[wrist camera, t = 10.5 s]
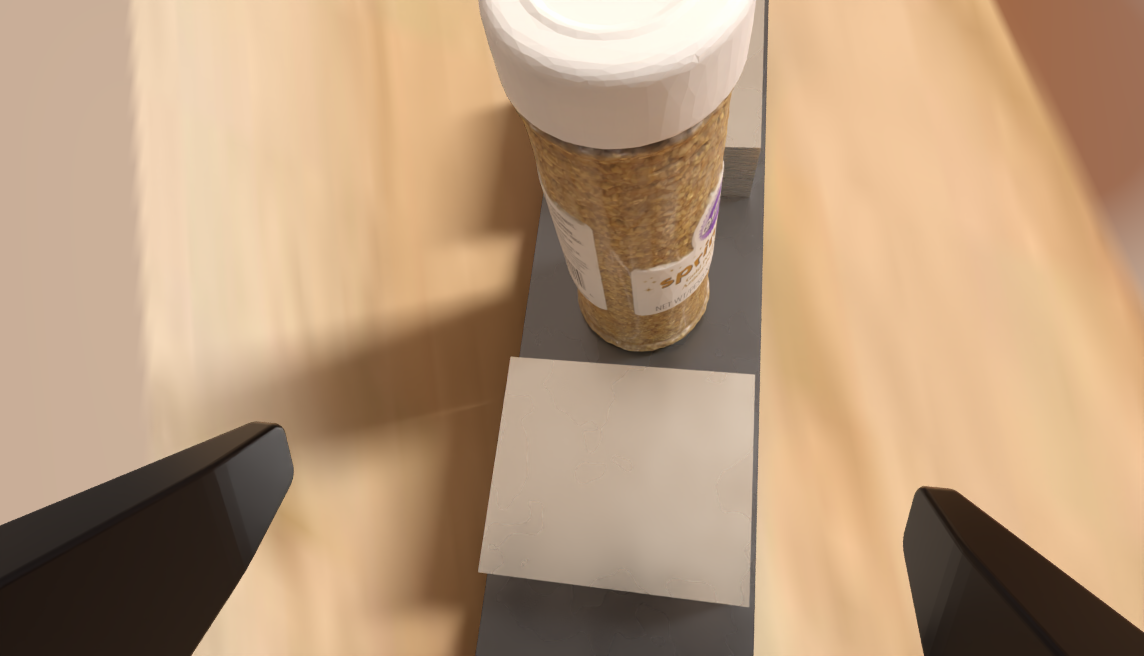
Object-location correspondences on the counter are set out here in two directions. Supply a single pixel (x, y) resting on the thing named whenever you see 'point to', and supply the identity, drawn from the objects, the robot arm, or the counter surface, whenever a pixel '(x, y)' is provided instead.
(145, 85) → the counter surface
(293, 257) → the counter surface
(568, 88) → the sprinkles bottle
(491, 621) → the mounting plate
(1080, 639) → the robot arm
